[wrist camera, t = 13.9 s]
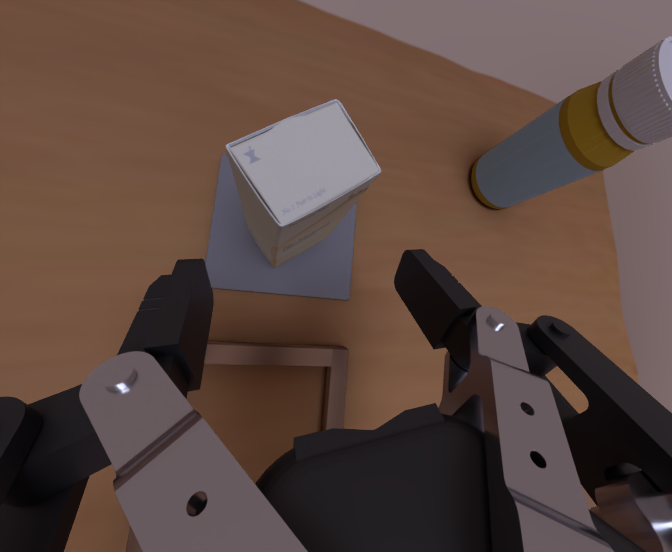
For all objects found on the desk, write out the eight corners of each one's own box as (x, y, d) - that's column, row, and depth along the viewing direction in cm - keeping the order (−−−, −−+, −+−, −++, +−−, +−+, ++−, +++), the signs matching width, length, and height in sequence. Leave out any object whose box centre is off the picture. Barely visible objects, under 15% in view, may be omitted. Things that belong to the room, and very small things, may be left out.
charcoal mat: (203, 287, 21) (202, 286, 20) (223, 157, 23) (221, 154, 22) (347, 300, 24) (349, 300, 24) (356, 186, 26) (358, 183, 25)
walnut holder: (135, 544, 18) (123, 567, 17) (169, 339, 20) (160, 342, 18) (330, 517, 22) (335, 534, 20) (343, 346, 24) (348, 349, 22)
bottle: (462, 157, 30) (643, 23, 15) (506, 156, 32) (704, 35, 17) (474, 213, 29) (670, 129, 15) (517, 208, 31) (729, 130, 17)
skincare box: (273, 269, 22) (276, 235, 10) (246, 228, 22) (217, 144, 10) (330, 235, 24) (386, 173, 12) (305, 196, 24) (338, 94, 12)
